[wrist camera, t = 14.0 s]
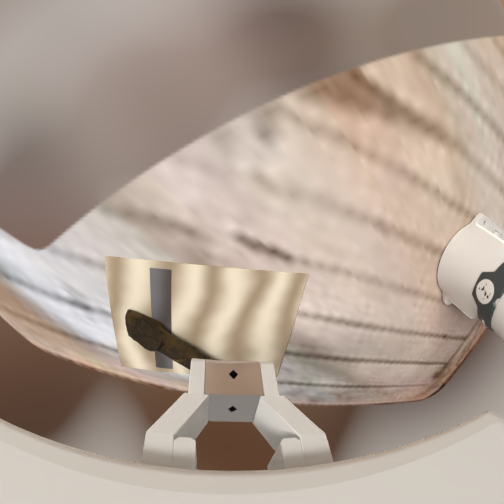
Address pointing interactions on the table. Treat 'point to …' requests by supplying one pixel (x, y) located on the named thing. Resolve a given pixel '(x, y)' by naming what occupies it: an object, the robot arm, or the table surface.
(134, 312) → the hand tool
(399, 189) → the table surface
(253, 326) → the sheet
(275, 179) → the table surface
